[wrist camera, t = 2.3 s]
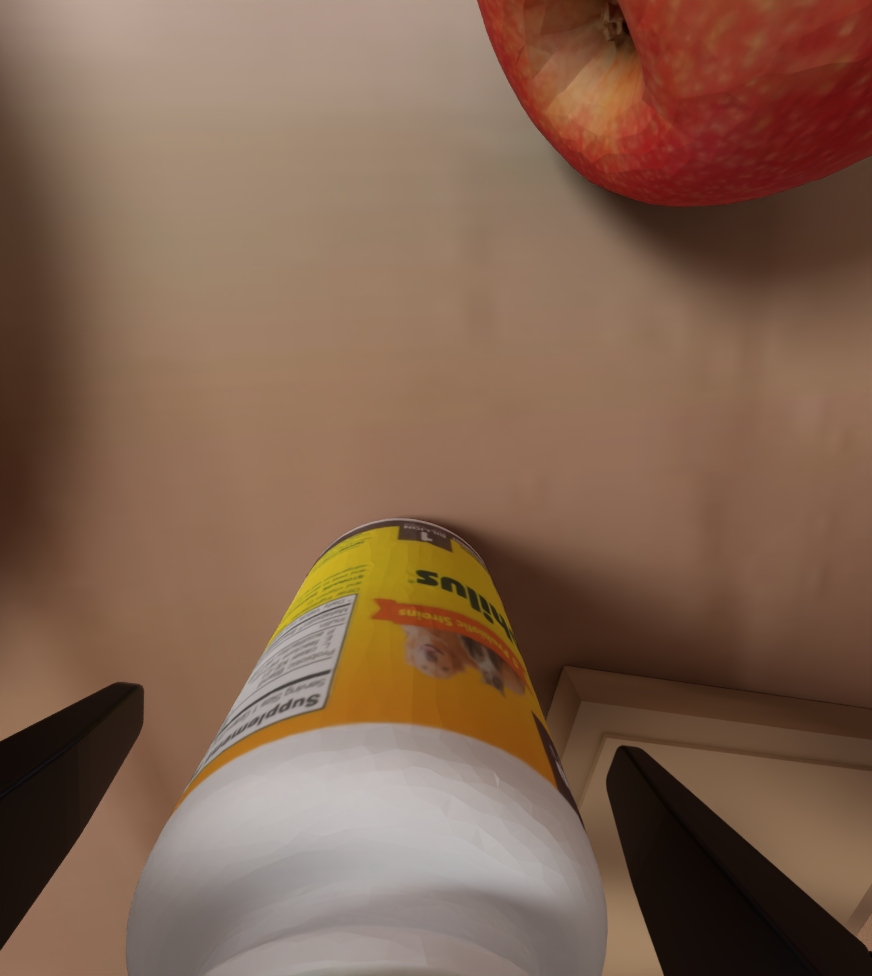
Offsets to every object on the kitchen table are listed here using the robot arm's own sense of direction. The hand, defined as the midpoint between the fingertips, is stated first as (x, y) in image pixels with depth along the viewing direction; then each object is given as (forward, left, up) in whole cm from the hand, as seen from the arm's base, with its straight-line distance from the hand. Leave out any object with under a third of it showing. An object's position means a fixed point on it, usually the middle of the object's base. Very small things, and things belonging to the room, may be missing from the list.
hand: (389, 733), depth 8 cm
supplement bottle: (0, 0, -5) cm, 5 cm away
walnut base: (-8, -12, -5) cm, 15 cm away
